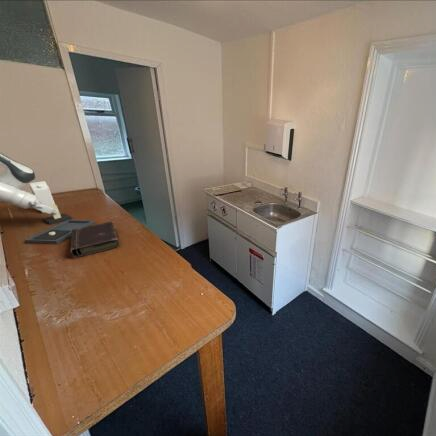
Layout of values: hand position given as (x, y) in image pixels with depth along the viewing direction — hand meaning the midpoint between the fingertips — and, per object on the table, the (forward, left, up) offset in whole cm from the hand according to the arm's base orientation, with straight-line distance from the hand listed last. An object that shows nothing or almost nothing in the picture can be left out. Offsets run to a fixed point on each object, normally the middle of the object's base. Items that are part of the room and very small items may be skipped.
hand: (56, 211), depth 140 cm
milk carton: (-18, +13, -5) cm, 23 cm away
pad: (+17, -23, -4) cm, 28 cm away
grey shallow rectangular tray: (+17, -17, -5) cm, 24 cm away
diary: (+42, -27, -5) cm, 50 cm away
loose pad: (0, -1, -5) cm, 5 cm away
